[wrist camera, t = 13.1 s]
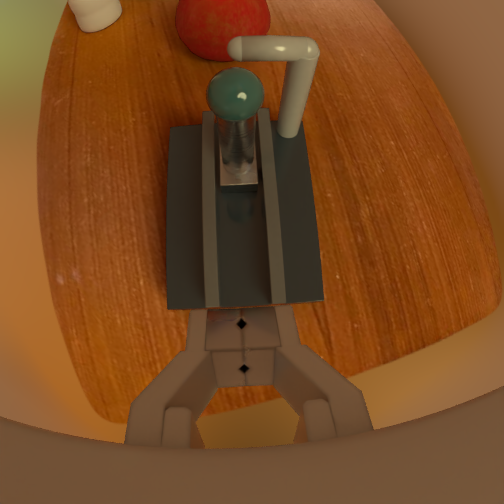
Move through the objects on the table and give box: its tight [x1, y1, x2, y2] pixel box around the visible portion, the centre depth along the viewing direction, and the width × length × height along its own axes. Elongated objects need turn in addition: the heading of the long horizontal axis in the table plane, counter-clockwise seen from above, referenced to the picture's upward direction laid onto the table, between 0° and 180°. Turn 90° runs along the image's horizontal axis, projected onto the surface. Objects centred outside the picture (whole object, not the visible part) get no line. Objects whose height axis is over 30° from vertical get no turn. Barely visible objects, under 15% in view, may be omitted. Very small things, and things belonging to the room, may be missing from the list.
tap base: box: [166, 35, 324, 310], centre depth 21 cm, size 12×16×14 cm
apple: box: [175, 0, 270, 62], centre depth 27 cm, size 11×11×11 cm
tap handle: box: [206, 67, 264, 193], centre depth 20 cm, size 3×4×12 cm
